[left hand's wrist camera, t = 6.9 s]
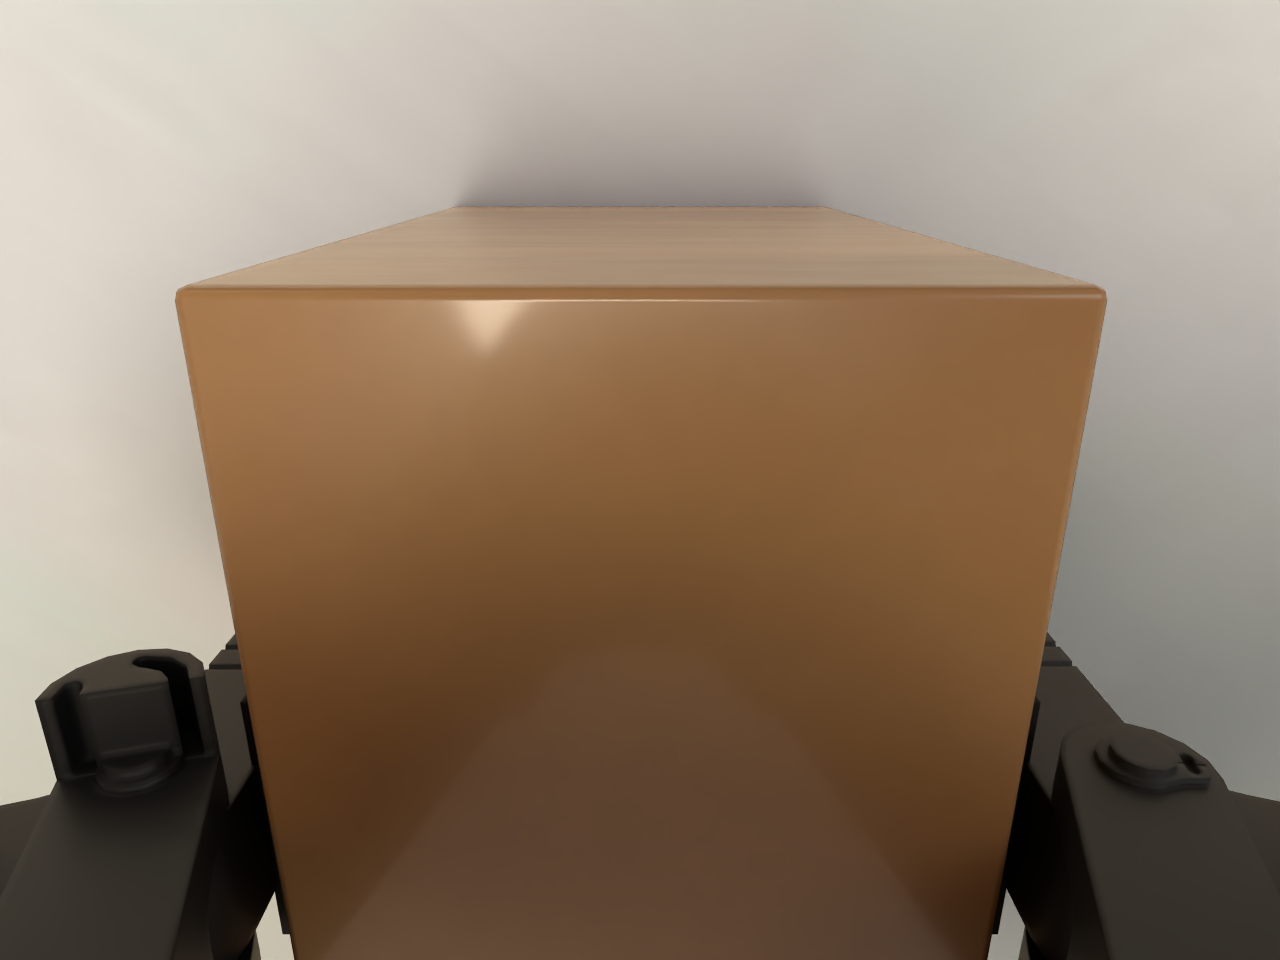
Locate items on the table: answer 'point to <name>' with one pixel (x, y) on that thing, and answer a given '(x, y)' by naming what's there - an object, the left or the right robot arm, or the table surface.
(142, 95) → the table surface
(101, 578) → the table surface
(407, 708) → the beam
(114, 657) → the left robot arm
